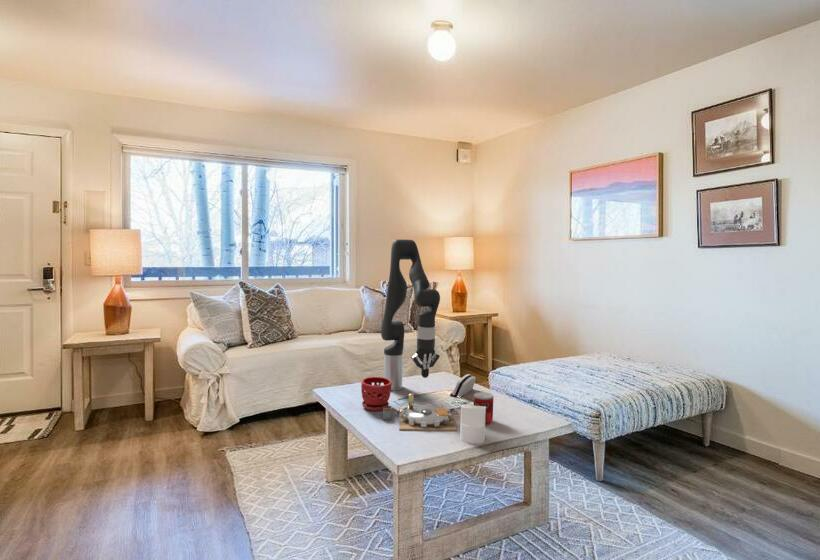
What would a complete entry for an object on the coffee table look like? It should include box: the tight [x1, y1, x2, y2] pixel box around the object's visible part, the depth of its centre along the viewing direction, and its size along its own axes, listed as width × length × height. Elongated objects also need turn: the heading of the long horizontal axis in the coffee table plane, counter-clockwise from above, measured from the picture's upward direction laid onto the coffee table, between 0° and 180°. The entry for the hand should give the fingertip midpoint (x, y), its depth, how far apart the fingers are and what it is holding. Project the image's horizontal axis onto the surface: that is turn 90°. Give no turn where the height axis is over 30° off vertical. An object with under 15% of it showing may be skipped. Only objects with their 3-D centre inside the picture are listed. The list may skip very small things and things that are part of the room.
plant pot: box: [360, 376, 392, 412], centre depth 204 cm, size 13×13×12 cm
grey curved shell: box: [449, 373, 477, 398], centre depth 227 cm, size 17×5×10 cm, turn 150°
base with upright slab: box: [459, 404, 486, 445], centre depth 174 cm, size 9×9×12 cm
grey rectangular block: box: [382, 405, 392, 422], centre depth 193 cm, size 6×3×4 cm, turn 1°
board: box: [398, 408, 457, 432], centre depth 192 cm, size 22×22×1 cm
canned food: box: [473, 391, 494, 426], centre depth 191 cm, size 8×8×11 cm
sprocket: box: [401, 392, 453, 427], centre depth 191 cm, size 20×20×8 cm
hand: (424, 377), depth 198 cm, fingers closed
